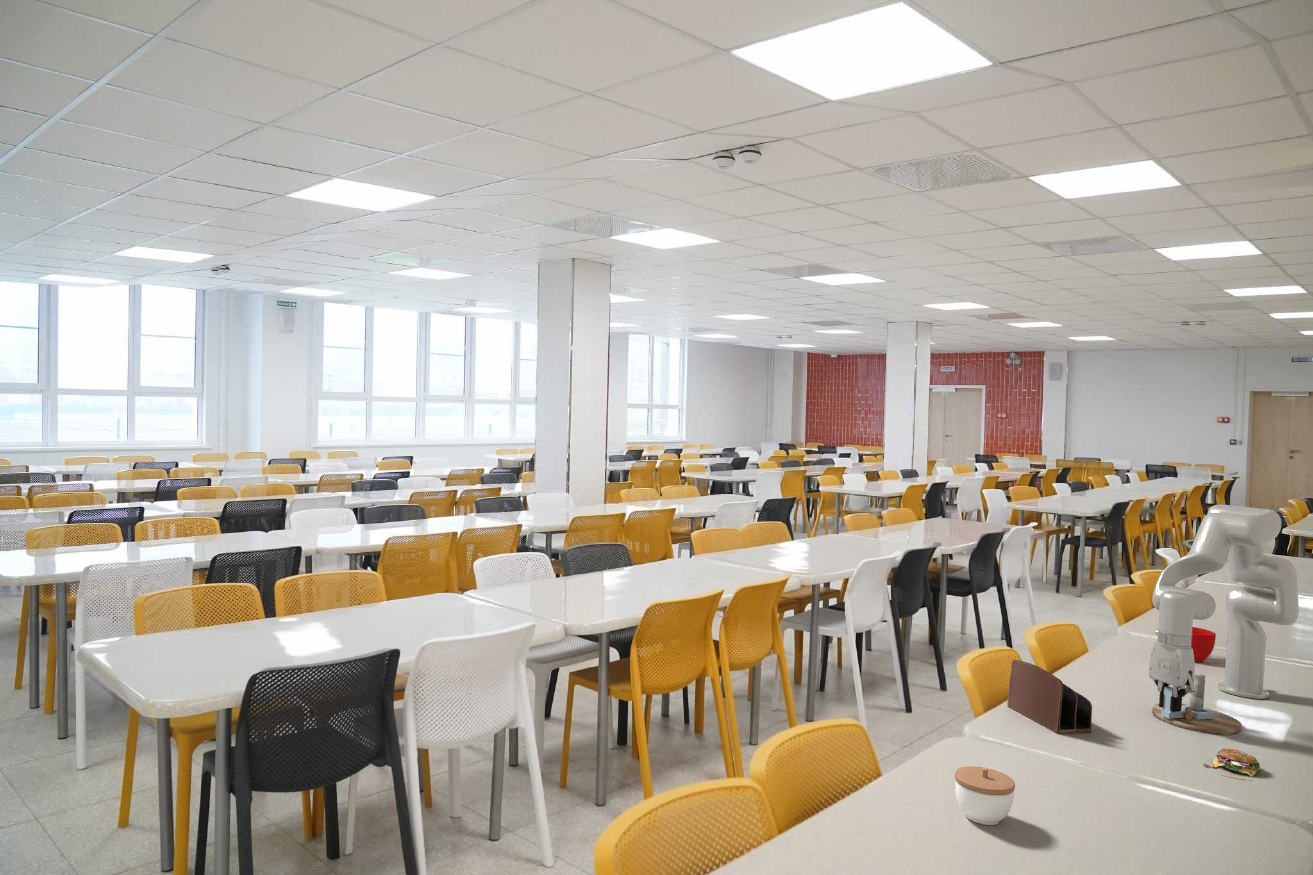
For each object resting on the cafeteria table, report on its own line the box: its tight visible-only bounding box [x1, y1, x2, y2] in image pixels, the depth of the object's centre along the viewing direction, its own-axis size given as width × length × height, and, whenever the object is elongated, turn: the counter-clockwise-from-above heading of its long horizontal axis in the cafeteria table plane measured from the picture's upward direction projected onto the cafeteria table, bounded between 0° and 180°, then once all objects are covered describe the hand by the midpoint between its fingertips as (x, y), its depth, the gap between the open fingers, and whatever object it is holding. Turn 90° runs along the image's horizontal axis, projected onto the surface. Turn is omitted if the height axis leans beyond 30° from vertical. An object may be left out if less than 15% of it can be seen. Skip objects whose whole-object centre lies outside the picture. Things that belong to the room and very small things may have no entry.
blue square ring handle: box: [1161, 686, 1215, 720], centre depth 222 cm, size 14×6×8 cm, turn 106°
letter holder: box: [1007, 659, 1093, 735], centre depth 218 cm, size 10×20×14 cm, turn 13°
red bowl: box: [1191, 626, 1217, 663], centre depth 287 cm, size 13×17×10 cm
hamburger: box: [1202, 748, 1261, 782], centre depth 192 cm, size 14×14×6 cm
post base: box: [1151, 672, 1243, 736], centre depth 223 cm, size 20×20×12 cm
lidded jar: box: [954, 765, 1016, 826], centre depth 161 cm, size 11×11×9 cm
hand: (1170, 708), depth 221 cm, fingers open, 2 cm apart
